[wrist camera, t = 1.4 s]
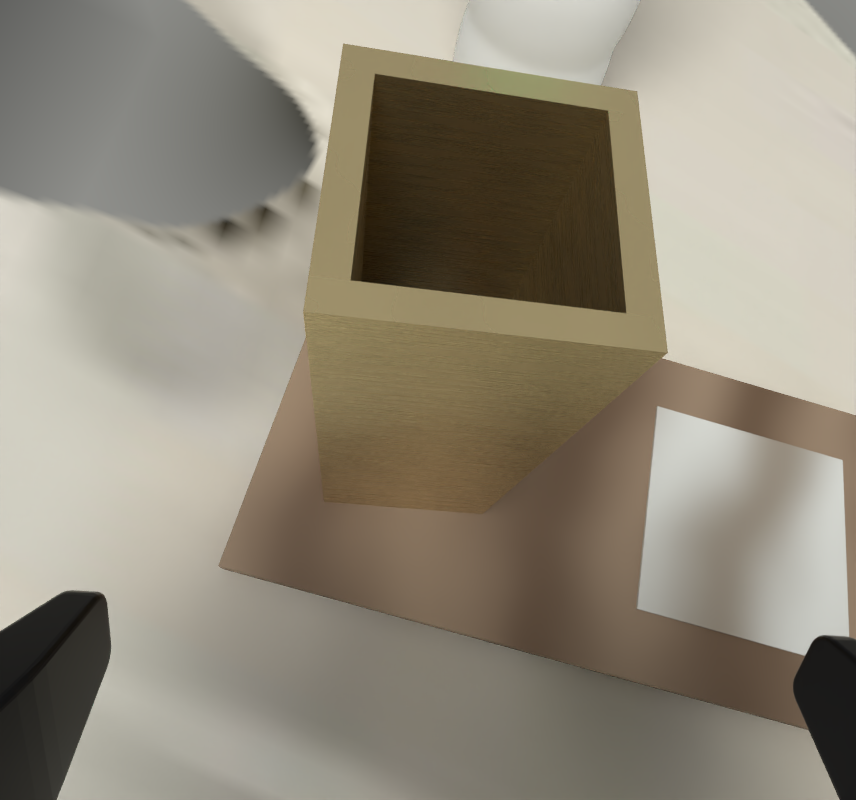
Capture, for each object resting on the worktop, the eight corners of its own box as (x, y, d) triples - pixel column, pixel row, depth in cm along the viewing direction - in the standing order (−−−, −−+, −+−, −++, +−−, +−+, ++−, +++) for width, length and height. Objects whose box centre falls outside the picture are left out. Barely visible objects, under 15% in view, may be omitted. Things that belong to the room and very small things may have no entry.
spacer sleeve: (482, 514, 20) (667, 352, 9) (324, 501, 20) (302, 312, 8) (484, 371, 22) (636, 91, 11) (340, 356, 22) (343, 43, 10)
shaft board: (842, 422, 25) (938, 381, 21) (855, 742, 20) (981, 768, 16) (334, 273, 24) (334, 201, 20) (222, 568, 19) (193, 550, 15)
